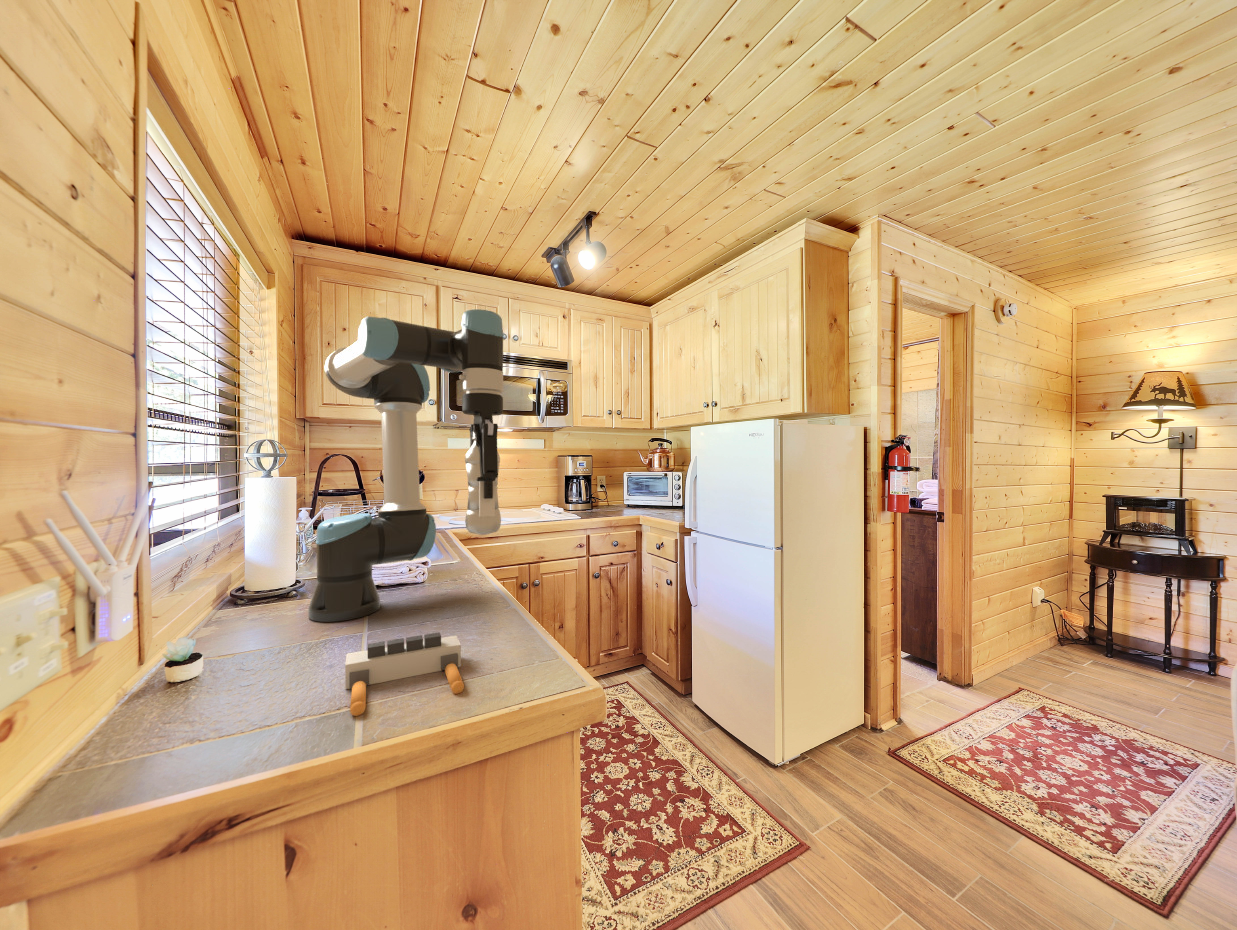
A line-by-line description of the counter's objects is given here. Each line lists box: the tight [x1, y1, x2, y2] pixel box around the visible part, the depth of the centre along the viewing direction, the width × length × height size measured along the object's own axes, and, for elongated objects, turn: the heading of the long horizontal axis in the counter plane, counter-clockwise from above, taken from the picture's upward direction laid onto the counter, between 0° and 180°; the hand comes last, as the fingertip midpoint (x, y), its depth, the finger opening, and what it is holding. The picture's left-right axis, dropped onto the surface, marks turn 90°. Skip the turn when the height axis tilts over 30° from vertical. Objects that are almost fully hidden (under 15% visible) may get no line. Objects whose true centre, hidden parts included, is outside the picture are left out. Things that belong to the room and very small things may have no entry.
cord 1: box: [349, 681, 367, 717], centre depth 72 cm, size 9×2×2 cm, turn 27°
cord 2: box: [444, 663, 465, 695], centre depth 79 cm, size 9×2×2 cm, turn 28°
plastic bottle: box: [464, 432, 502, 536], centre depth 91 cm, size 6×7×20 cm
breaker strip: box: [344, 632, 462, 690], centre depth 83 cm, size 6×18×6 cm, turn 117°
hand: (483, 513), depth 91 cm, fingers closed on plastic bottle, 6 cm apart
